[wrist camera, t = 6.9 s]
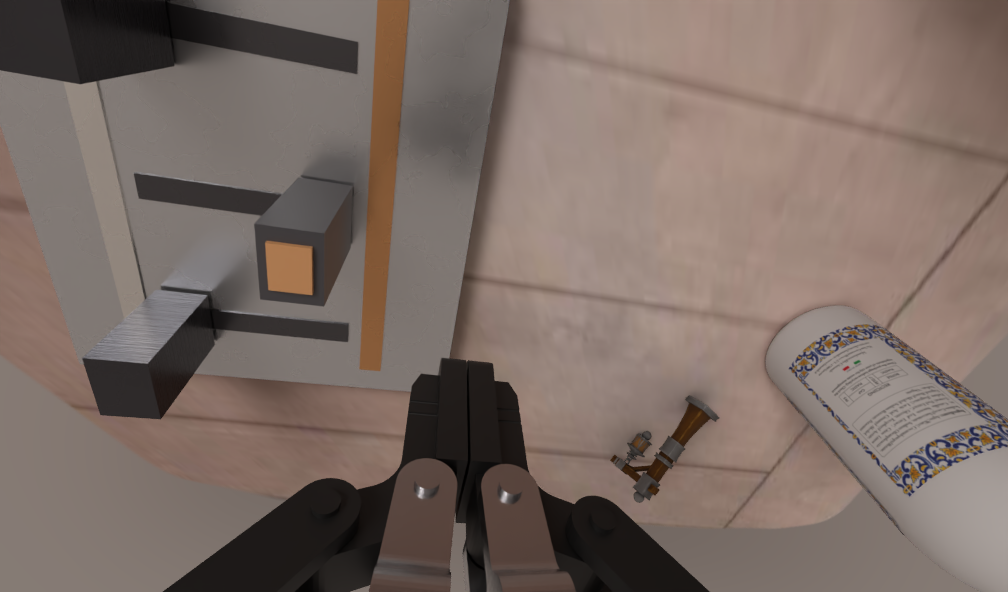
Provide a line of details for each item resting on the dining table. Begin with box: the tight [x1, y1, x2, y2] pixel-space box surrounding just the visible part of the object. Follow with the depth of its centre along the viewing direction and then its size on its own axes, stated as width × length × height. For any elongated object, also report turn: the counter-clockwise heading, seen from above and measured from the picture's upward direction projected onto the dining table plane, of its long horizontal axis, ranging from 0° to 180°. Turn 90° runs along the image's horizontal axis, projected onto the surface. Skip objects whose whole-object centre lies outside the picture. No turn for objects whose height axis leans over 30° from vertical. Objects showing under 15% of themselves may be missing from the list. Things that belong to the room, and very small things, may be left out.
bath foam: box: [765, 305, 1008, 592], centre depth 23 cm, size 7×7×20 cm
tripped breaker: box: [254, 177, 353, 307], centre depth 20 cm, size 2×3×6 cm
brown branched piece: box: [610, 396, 719, 503], centre depth 33 cm, size 2×8×4 cm, turn 133°
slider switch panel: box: [0, 0, 510, 419], centre depth 20 cm, size 20×22×7 cm
